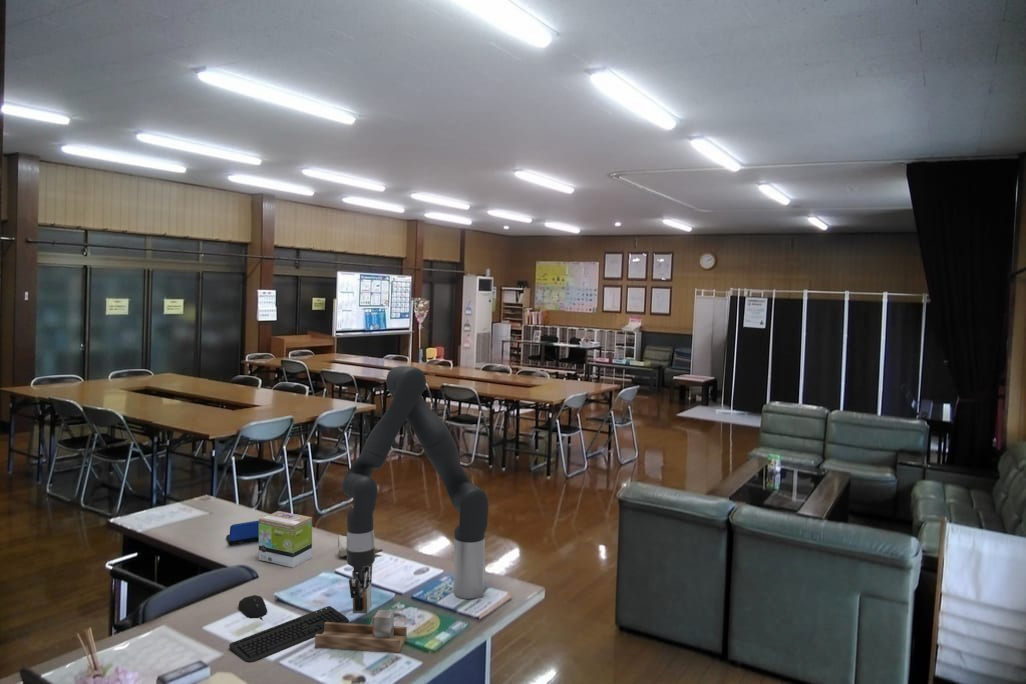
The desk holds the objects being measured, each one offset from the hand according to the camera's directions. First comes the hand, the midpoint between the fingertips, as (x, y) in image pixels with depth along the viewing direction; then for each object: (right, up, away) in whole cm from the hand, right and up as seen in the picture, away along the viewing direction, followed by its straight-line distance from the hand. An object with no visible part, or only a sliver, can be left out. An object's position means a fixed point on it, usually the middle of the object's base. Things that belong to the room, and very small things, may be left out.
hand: (361, 605), depth 186 cm
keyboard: (-17, -6, -7) cm, 19 cm away
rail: (+2, -5, -11) cm, 12 cm away
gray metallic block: (0, -1, 0) cm, 1 cm away
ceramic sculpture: (-12, -2, +46) cm, 47 cm away
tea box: (-36, -2, +44) cm, 56 cm away
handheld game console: (-55, 0, +61) cm, 82 cm away
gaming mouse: (-32, -4, +5) cm, 32 cm away
